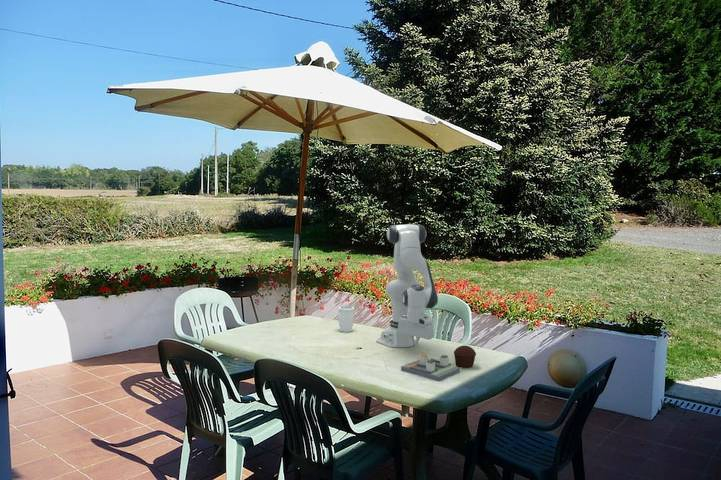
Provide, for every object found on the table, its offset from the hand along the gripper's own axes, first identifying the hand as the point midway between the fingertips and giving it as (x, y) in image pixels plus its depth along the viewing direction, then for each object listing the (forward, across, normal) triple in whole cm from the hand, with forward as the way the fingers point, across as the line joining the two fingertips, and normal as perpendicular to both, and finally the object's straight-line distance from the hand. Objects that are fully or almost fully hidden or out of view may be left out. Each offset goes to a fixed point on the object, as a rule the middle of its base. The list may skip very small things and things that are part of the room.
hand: (414, 344), depth 266 cm
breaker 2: (+8, +14, +6) cm, 18 cm away
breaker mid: (+9, +6, 0) cm, 11 cm away
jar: (+14, -74, +28) cm, 80 cm away
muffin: (+11, +18, +19) cm, 29 cm away
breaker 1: (+8, +14, -6) cm, 18 cm away
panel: (+11, +10, 0) cm, 15 cm away
